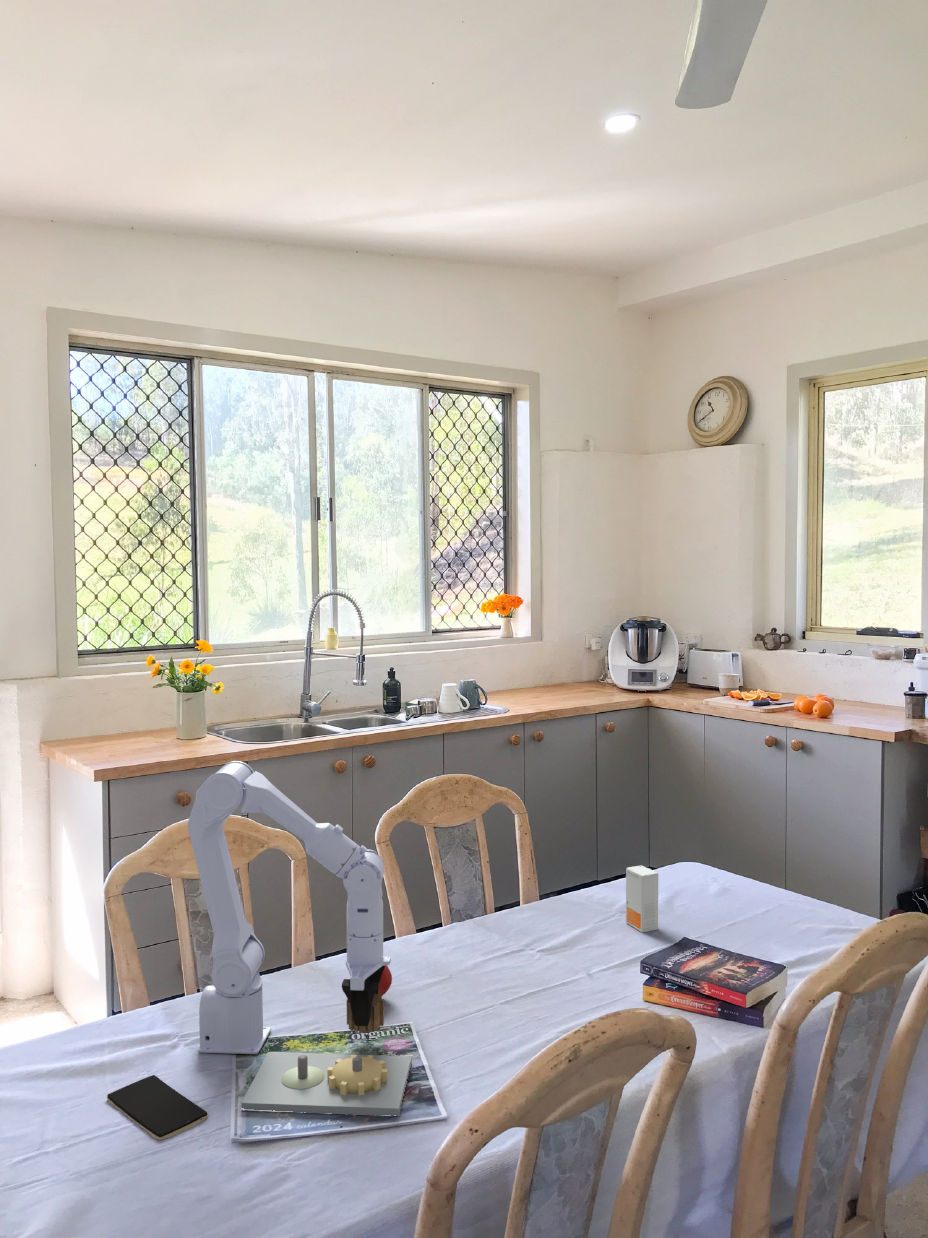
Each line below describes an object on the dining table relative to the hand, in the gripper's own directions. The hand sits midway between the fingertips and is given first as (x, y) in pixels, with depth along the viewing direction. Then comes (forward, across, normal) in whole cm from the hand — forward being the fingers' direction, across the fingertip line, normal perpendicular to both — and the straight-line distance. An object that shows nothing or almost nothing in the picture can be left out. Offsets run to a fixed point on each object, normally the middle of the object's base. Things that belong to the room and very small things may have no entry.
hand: (365, 1015), depth 152 cm
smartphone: (+5, -20, +26) cm, 33 cm away
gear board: (+4, -13, +3) cm, 14 cm away
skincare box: (+4, +52, -49) cm, 72 cm away
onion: (+5, +15, +1) cm, 16 cm away
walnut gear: (+1, 0, 0) cm, 1 cm away
